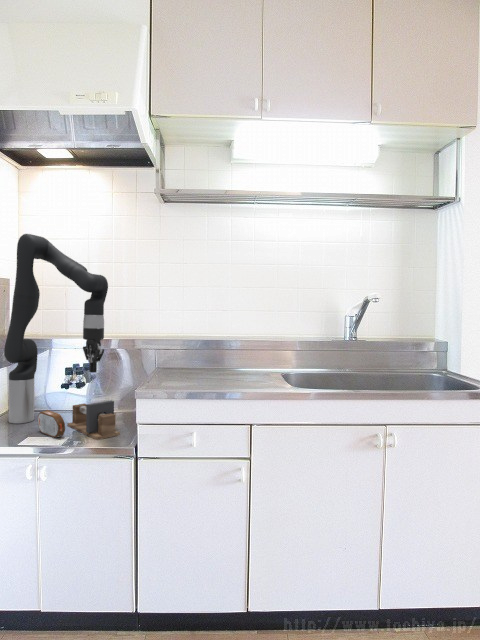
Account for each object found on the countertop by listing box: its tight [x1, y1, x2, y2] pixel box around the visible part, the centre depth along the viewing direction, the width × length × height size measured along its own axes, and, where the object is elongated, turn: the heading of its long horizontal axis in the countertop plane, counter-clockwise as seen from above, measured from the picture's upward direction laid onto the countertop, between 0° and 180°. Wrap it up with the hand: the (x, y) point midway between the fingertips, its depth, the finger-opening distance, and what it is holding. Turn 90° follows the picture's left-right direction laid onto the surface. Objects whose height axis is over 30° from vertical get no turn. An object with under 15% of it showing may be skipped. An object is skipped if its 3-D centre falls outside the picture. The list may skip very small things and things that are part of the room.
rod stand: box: [67, 403, 121, 441], centre depth 160 cm, size 24×9×8 cm, turn 46°
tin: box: [37, 409, 66, 439], centre depth 153 cm, size 15×3×8 cm, turn 53°
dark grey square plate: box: [85, 400, 115, 433], centre depth 156 cm, size 2×10×10 cm, turn 136°
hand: (92, 372), depth 160 cm, fingers closed
